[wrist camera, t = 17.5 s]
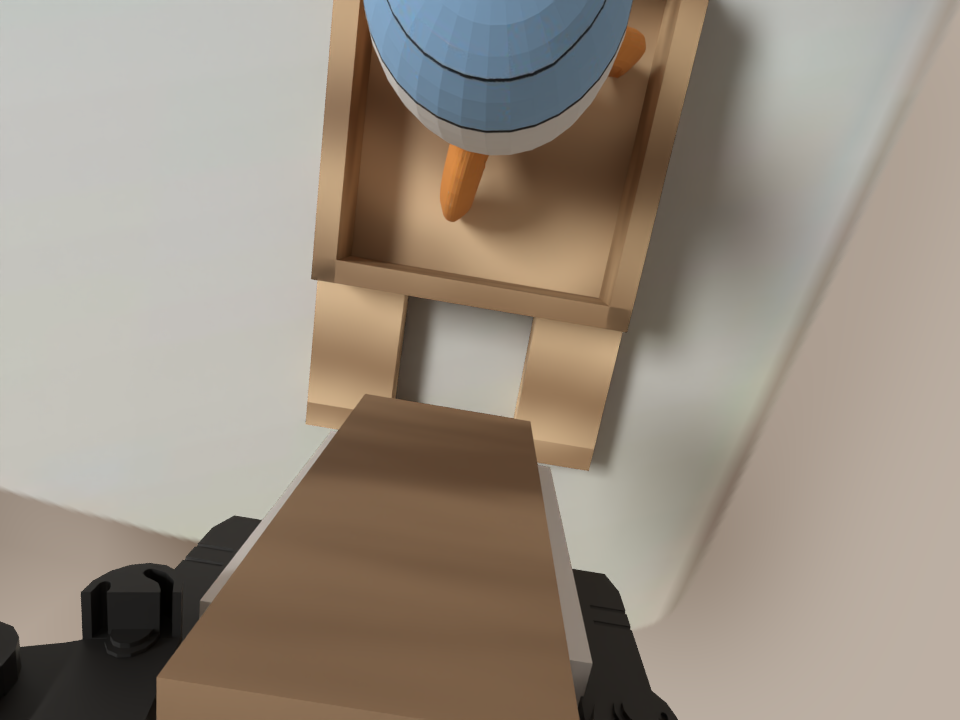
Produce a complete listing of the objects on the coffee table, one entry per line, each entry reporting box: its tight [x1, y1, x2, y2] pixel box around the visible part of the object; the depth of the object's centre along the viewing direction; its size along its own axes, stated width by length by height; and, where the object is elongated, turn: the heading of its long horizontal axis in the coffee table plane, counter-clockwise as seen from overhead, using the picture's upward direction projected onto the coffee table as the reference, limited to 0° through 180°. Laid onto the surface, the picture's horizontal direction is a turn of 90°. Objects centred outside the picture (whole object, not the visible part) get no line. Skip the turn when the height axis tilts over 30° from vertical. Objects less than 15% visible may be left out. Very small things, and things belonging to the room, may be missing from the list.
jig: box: [306, 0, 709, 471], centre depth 24 cm, size 23×15×4 cm, turn 171°
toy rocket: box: [363, 0, 646, 222], centre depth 17 cm, size 10×11×15 cm
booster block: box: [156, 394, 580, 720], centre depth 10 cm, size 4×4×9 cm
